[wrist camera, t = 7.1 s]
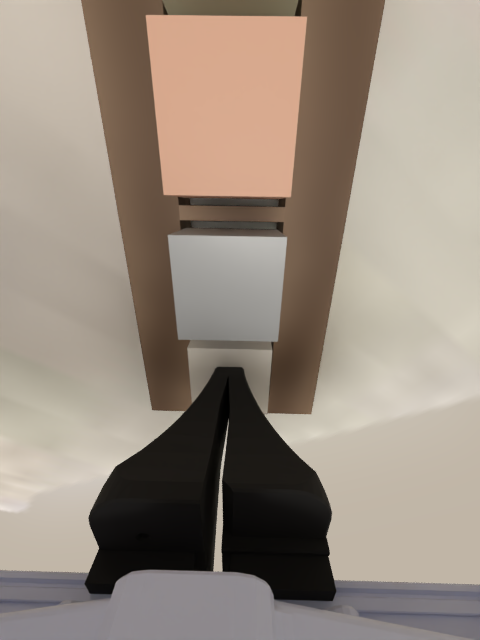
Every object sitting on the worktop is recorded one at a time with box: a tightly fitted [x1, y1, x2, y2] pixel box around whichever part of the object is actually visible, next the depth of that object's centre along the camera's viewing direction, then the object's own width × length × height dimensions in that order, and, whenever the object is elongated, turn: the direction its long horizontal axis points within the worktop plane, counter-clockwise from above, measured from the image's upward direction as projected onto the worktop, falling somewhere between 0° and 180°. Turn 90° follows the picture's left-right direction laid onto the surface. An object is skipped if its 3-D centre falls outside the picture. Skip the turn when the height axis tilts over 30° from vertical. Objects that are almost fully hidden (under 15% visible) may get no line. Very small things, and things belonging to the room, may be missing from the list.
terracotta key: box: [146, 15, 307, 199], centre depth 8 cm, size 4×4×3 cm
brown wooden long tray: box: [81, 0, 385, 414], centre depth 12 cm, size 10×23×2 cm, turn 179°
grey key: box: [168, 228, 287, 342], centre depth 11 cm, size 4×4×3 cm
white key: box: [187, 340, 272, 414], centre depth 14 cm, size 4×4×3 cm
